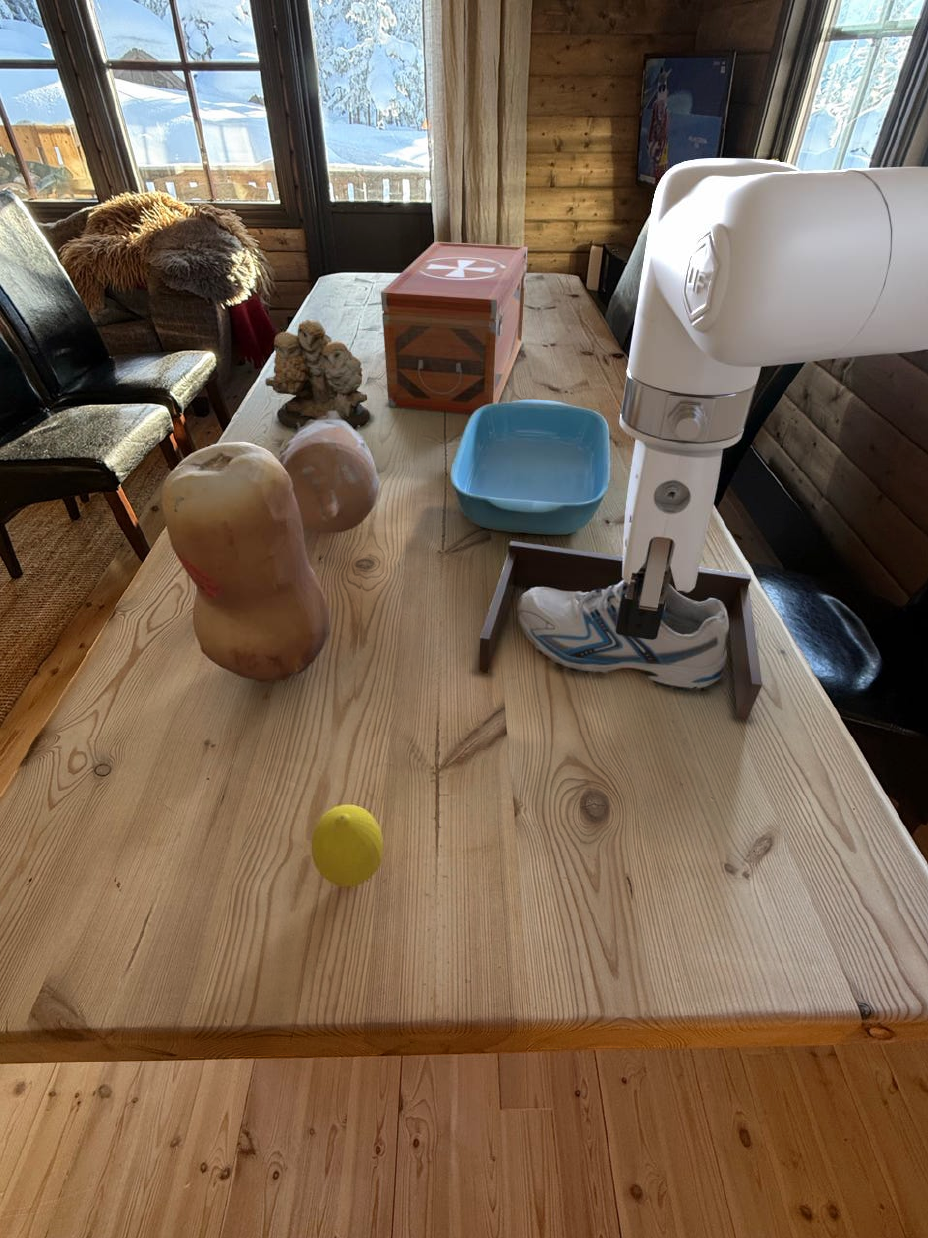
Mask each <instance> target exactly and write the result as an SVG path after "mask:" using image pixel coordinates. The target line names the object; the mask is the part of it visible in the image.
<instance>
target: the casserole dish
mask: <svg viewBox="0 0 928 1238" xmlns="http://www.w3.org/2000/svg"><path fill="white" fill-rule="evenodd" d="M609 429H610V428H609V425H608V422H607V419H605V417H604V416H603V415H602V414H600V413H599V412H597V411H595V410H593V409H589V408H586V407H580V406H574V405H571V404H567V403H564V402H560V401H555V400H548V399H547V400H546V399H518V400H514V401H508V402H507V401H505V402H503V401H502V402H498V403H493V404H488V405H485V406H482V407H481V408H479V409H477V410H476V411H475V412H474V413H473V414H470V417H469V418H468V421H467V422H466V425H465V427H464V429H463V432H462V436H461V438H460V441H459V444H458V447H457V450H456V453H455V456H454V460H453V461H452V462H453V463H452V465H451V471H450V481H451V485H452V487H453V490H454V493H455V496H456V499H457V502H458V505H459V506H460V510H461V511H462V513H463V515H464V516H465V517H466V518H467V519H468V520H469V521H470V522H471V523H473V524H475V525H477V526H479V527H480V528H483V529H488V530H493V531H500V532H508V533H519V534H521V533H525V534H533V535H534V534H535V535H547V536H561V535H563V536H564V535H569V534H572V533H575V532H578V531H579V530H582V528H584V527H585V526H587V525H588V524H589V523H590V522H591V520H592V519H593V518H594V516H595V514H596V513H597V511H598V509H599V507H600V505H601V504H602V501H603V500H604V497H605V495H606V493H607V492H608V489H609V485H610V477H611V476H610V475H611V457H610V449H611V448H610V430H609Z"/></svg>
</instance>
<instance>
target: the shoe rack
mask: <svg viewBox="0 0 928 1238" xmlns="http://www.w3.org/2000/svg"><path fill="white" fill-rule="evenodd" d="M503 564H504V565H503V567H502V571H501V572H500V577H499V580H498V583H497V585H496V588H495V592H494V595H493V597H492V600H491V604H490V606H489V609H488V612H487V616H486V619H485V621H484V625H483V628H482V630H481V633H480V636H479V654H478V655H479V656H478V657H479V659H478V672H480V673H485V674H488V673H489V670H490V667H491V663H492V660H493V657H494V655H495V651H496V647H497V644H498V640H499V638H500V634H501V630H502V627H503V625H504V620H505V617H506V614H507V611H508V607H509V605H510V601H511V598H512V594H513V591H514V587H515V586H517V587H522V588H530V589H531V588H534V587H548V588H553V589H558V590H561V591H569V592H577V591H581V592H582V593H586V592H591V591H593V590H597V589H607V588H608V587H609V586H612V585H616V584H619V583H620V582H621V581H622V580H624V579H623V578H622V566H623V555H615V554H606V553H600V552H593V551H585V550H579V549H571V548H566V547H565V548H564V547H557V546H550V545H542V544H536V543H529V542H522V541H515V540H510V541H509V544H508V553H507V555H506V558H505V562H504V563H503ZM751 582H752V577H751V574H750V573H742V572H734V571H728V570H721V569H713V568H706V567H699V571H698V576H697V580H696V585H695V588H694V589H693V590H691V591H690V592H688V593H687V592H684V591H679V590H676V587H675V583H674V579H673V575H672V574H671V578H670V581H669V584H670V585H671V586H672V587H673V588H674V589H675V590H676V591H677V592H678V593H679V594H681V595H682V596H684V597H686V598H688V599H691V600H693V601H697V602H702V601H706V600H707V599H709V598H715V599H717V600H719V601H721V602H722V603H723V604H724V606H725V609H726V611H727V616H728V623H729V632H728V633H729V642H730V643H729V644H730V652H731V663H732V673H733V683H734V696H735V705H736V716H737V718H739V719H744V720H748V719H749V717H750V714H751V712H752V710H753V707H754V705H755V703H756V700H757V698H758V696H759V693H760V692H761V689H762V687H763V681H762V673H761V667H760V660H759V652H758V644H757V638H756V630H755V622H754V615H753V608H752V602H751V593H750V587H749V586H750V584H751Z"/></svg>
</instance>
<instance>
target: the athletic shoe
mask: <svg viewBox="0 0 928 1238" xmlns="http://www.w3.org/2000/svg"><path fill="white" fill-rule="evenodd" d="M623 582H625V580H622V581H621V582H620V583H619V584H616V585H612V586H609V587H608V588H607V589H597V590H593V591H591V592H586V593H582V592H581V591H577V592H569V591H561V590H558V589H553V588H548V587H534V588H530V589H528V590H527V591H524V592H522V594H521V595H520V596H519V598H518V600H517V619H518V626H519V627H520V629H521V631H522V632H523V635H524V637H525V638H526V639H527V640H528V641H529V642H531V643H532V645H533V646H534V647H535V648H536V650H537V651H538V653H539V655H543V654H544V655H546V656H547V657H548V658H549V659H550V660H552V661H553V663H555V665H556V666H558V667H560V668H564V667H567V668H568V669H569V670H570V671H571V672H580V673H583V674H589V673H591V672H593V673H594V674H597V675H603V674H608V673H611V672H613V671H615V670H620V669H621V670H622V669H632V670H635V671H637V672H638V673H641V674H642V675H644V676H645V677H646V678H647V679H648V680H651V681H652V682H653V683H655V684H657V685H659V686H662V687H666V688H669V689H672V688H673V689H675V690H682V691H689V690H691V689H694V688H695V687H696V688H697V689H698V690H700V691H704V690H706V689H708V688H710V687H712V685H715V683H717V682H718V681H720V680H721V679H722V677H723V673H724V671H725V665H726V663H727V660H728V659H727V658H728V657H727V656H728V652H727V648H726V646H727V642H728V636H729V633H730V632H729V621H728V616H727V611H726V609H725V606H724V604H723V603H722V602H721V601H719V600H717V599H715V598H709V599H707V600H706V601H702V602H697V601H693V600H691V599H688V598H686V597H684V596H682V595H681V594H679V593H678V592H677V591H676V590H675V589H674V588H673V587H672V586H671V585H670V584H669V585H668V589H667V593H666V603H665V607H664V611H663V615H662V619H661V624H660V628H659V632H658V636H657V638H656V639H654V640H649V639H642V638H636V637H629V636H622V635H618V634H617V633H616V632H615V630H616V620H617V614H618V609H619V603H620V598H621V593H622V587H623Z"/></svg>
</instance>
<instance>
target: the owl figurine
mask: <svg viewBox="0 0 928 1238" xmlns="http://www.w3.org/2000/svg"><path fill="white" fill-rule="evenodd" d="M273 342H274V343H273V346H274V351H275V355H274V356H275V357H274V361H273V363H274V366H273V373H274V375H273V376H269V377H265V381H264V382H265V386H267V387H272V390H273V391H274V392H276V393H277V394H281V395H291V396H293V397H292V398H291V399H289V400H287V401H285V403H284V404H282V405H281V407H279V409H278V410H277V412H276V416H277V420H278V422H279V424H281V425H282V426H283V427H285V428H288V429H293V430H295V431H298V430H299V429H300V428H301V427H303V426H304V425H305V424H306V422H307V421H309V420H311V419H312V420H316V419H318V418H319V417H321V416H324V415H326V414H327V412H328V411H337V412H338V414H339V416H340V418H341V419H343V420H344V421H346V422H347V423H348V424H349V425H350V426H352V428H353V429H354V430H356V429H358V427H359V428H363V427H365V426H366V425H367V424H368V423H369V422H370V420H371V413H370V411H369V410H368V408H366V407H364V405H362V403H365V402H366V401H367V400H368V395H367V394H366V393H365V392H361V391H359V390H358V389H359V388H360V387H361V385H362V383H363V373H362V372H363V368H362V367H361V366H362V362H361V361H360V359H358V358H357V357H355V356H354V355H353V354H352V352H351V350H349V348H348V347H347V346H346V344H344V343H343V342H342V341H333V340H332V337H331V336H330V335H328V334H326V330H325V328H324V326H323V325H322V324H320V322H319V321H317V320H315V319H312V318H308V319H305V320H303V321H301V322H300V323H299V325H298V327H297V334H295V333H292V332H290V331H282V332H280V333H278V334H276V335H275V337H274V341H273Z"/></svg>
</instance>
